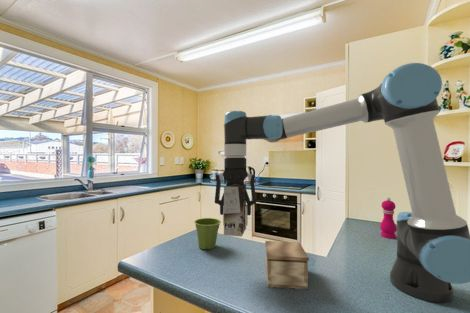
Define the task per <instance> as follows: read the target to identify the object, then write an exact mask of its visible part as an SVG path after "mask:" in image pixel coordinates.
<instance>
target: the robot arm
mask: <svg viewBox="0 0 470 313" xmlns="http://www.w3.org/2000/svg"><path fill="white" fill-rule="evenodd" d="M442 87H443V80H442V77H441V75H440V73H439V72H438V70H436V69H435V68H434V67H433V66H431V65H428V64H425V63H421V62H409V63H405V64H402V65H400V66H398V67H396V68H395V69H393V70H392V71H390V72H389V73H387V75H385V77H384V78H383V80H382V82H381V83H380V84H379V86H377V87H376V88H375V89H372V90H370V91H368V92H364V93H361V94H359V95H358V96H357V98H354V99H350V100H347V101H343V102H340V103H336V104H332V105H329V106H328V105H327V106H324V107H320V108H316V109H313V110H309V111H305V112H302V113H298V114H294V115H291V116H286V117H283V118H282V116H280V115H279V114H276V115H275V114H273V115H272V114H269V115H260V116H259V115H258V116H247V113H246V112H245V111H243V110H231V111H227V112H226V113H225V114H224V124H223V128H224V130H223V131H224V147H223V148H224V150H223V151H224V157H225V158H224V171H223V172H222V173H219V174H218V173H217V174H216V175H215V180H216V185H215V194H214V195H215V196H214V204H217V205H219V214H220V216H222V226H224V192H223V194H222V197H220V196H221V185H222V180H223V179H225V180H226V185H225V186H230V185H233V184H237V185H242V186H244V185H245V184H246V183H245V180H246V178H248V181H250V191H251V192H250V193H251V200H250V197H249V193H248V191H247V187H246V188H245V186H244V197H245V200H246V205H245V226H246V227H247V226H248V225H249V223H248V218H249V216H251V215H252V206H253V205H256V204H257V198H256V196H257V195H256V188H255V179H256V175H255V174H254V173H253V174H251V173H248V171H247V158H246V156H247V140H263V141H264V140H265V141H267V142H269V143H277V142H279V141H281V140H285V139H289V138H293V137H296V136H302V135H305V134H310V133H314V132H319V131H324V130H327V129H331V128H332V129H333V128H336V127H340V126H341V127H342V126H344V125H349V124H353V123H357V122H363V123H364V124H366V123H367V124H368V123H371V122H375V121H382V120H383V121H384V125H385V126H388V127H389V128H391V129H392V131H393V134H394V138H395V143H396V148H397V151H398V157H399V162H400V164H401V165H400V166H401V170H402V174H403V178H404V182H405V187H406V191H407V196H408V200H409V205H410V209H411V211H400V212H399V213H398V214H397V217H396V227H397V231H396V259H395V261H394V263H393V266H392V268H391V270H390V273H389V280H390V283H391V284H392V285H393V286H394V287H395V288H396V289H398V290H400V291H401V292H403V293H405V294H406V295H409V296H412V297H414V298H417V299H420V300H424V301H427V302H433V303H449V302H451V301H453V299H454V288H453V286H452V284H456V285H457V284H467V283H470V229H469V224H468V222H467V220H465V219H464V218H462V217H461V216H458V215H457V212H456V208H455V203H454V199H453V196H452V192H451V189H450V188H451V187H450V183H449V179H448V175H447V170H446V168H445V163H444V158H443V154H442V150H441V146H440V142H439V138H438V134H437V129H436V126H435V122H434V120H435V118H436V117H437V116H438V115H439V113H440V109H439V104H438V100H437V97H438V96H439V95H440V93H441V90H442ZM223 177H224V178H223Z"/></svg>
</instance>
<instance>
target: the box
mask: <svg viewBox="0 0 470 313" xmlns="http://www.w3.org/2000/svg"><path fill="white" fill-rule="evenodd" d="M308 263H309V261H296V260H277V259H267V253H266V252H265V273H266V274H265V275H266V283H267V286H268V287H267V288H273V287H276V289H277V288H278V289H289V288H295V290H305V289H309V288H308V287H309V286H308V283H309V282H308V279H309V270H308V269H309V267H308V266H309V264H308Z"/></svg>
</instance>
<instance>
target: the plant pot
mask: <svg viewBox="0 0 470 313" xmlns="http://www.w3.org/2000/svg"><path fill="white" fill-rule="evenodd" d="M193 223H194V224H195V229H196V235H197V241H198V248H199V249H201V250H212V249H214V248H215V247H216V244H217V240H218V239H217V238H218V233H219V228H220V225H221V223H222V221H221V220H220V219H218V218H212V217H203V218H197V219H195V220H194V222H193Z"/></svg>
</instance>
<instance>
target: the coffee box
mask: <svg viewBox="0 0 470 313" xmlns="http://www.w3.org/2000/svg"><path fill="white" fill-rule="evenodd" d="M244 184H245V185H244V186H245V188H246V189H247V184H246V183H244ZM244 186H242V185H237V184H233V185H230V186H226V185H224V186H223V193H224V225H223V235H224V236H230V237H231V236H232V237H239V238H240V237H243V235H244V233H245V232H246V229H247V226H245V205H247V203H246V200H245V197H244Z"/></svg>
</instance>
